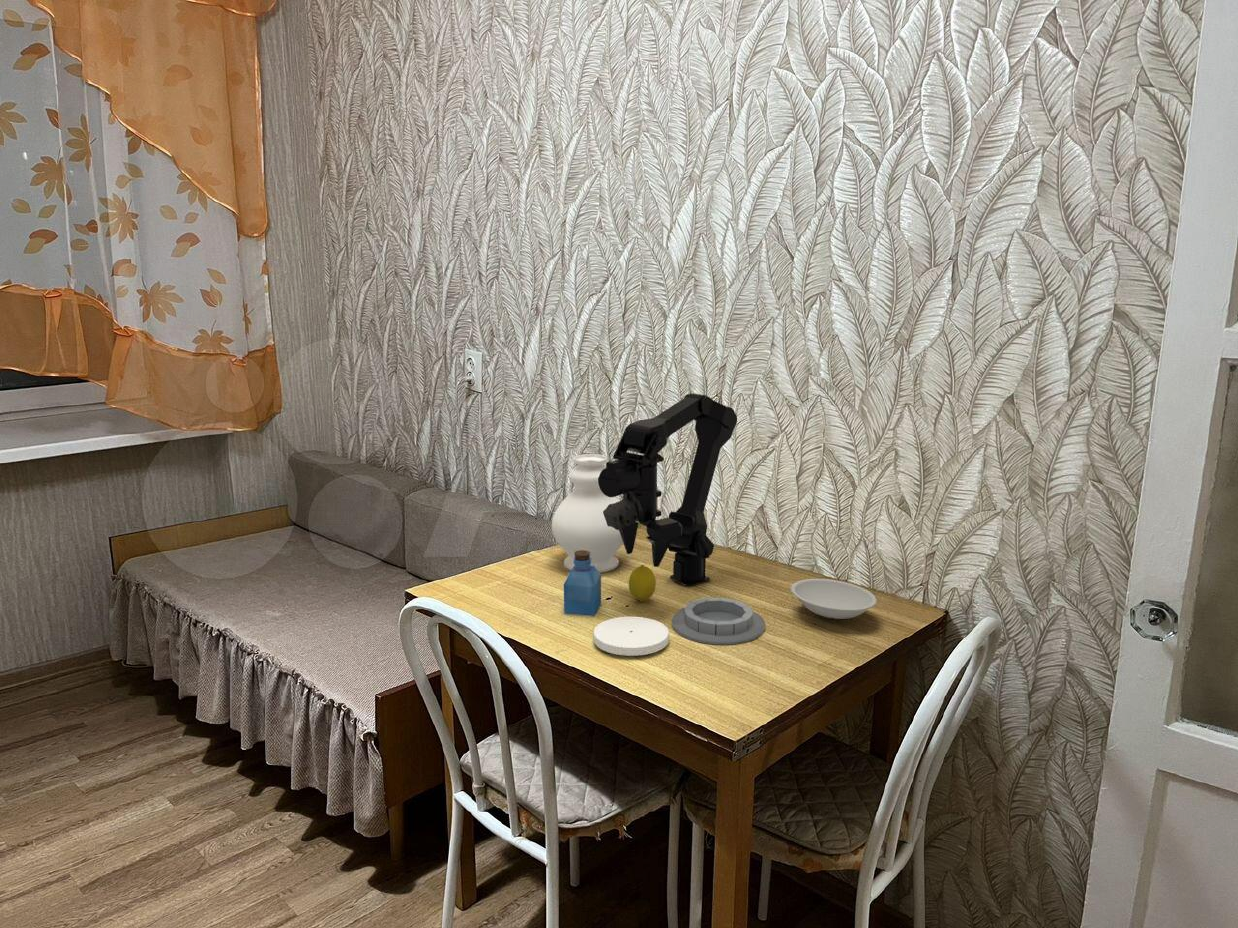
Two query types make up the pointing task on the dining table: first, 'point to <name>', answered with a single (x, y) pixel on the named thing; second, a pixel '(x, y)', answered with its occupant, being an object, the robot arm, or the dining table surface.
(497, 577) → the dining table surface
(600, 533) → the decorative vase
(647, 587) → the lemon
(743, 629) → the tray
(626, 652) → the plastic lid
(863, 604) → the dish
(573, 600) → the perfume bottle
